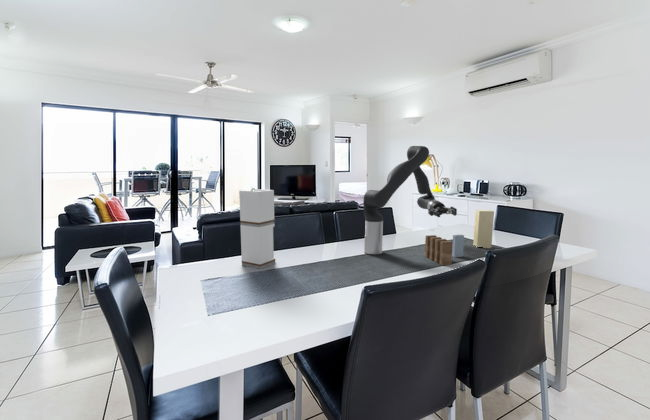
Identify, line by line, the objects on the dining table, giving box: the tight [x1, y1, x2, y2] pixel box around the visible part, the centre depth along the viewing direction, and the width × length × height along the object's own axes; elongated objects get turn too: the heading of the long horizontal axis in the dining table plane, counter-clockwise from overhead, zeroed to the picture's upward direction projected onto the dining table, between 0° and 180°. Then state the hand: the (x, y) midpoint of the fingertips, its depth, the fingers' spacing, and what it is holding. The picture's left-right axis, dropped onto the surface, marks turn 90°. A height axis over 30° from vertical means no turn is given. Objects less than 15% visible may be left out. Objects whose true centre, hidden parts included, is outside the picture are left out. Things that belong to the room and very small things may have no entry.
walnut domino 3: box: [433, 238, 448, 264], centre depth 164 cm, size 2×5×11 cm, turn 103°
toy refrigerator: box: [472, 209, 495, 249], centre depth 193 cm, size 8×7×21 cm
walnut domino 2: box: [429, 236, 443, 261], centre depth 168 cm, size 2×5×11 cm, turn 104°
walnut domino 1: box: [424, 234, 438, 259], centre depth 173 cm, size 2×5×11 cm, turn 104°
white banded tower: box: [238, 188, 276, 270], centre depth 159 cm, size 11×11×35 cm
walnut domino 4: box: [439, 240, 453, 266], centre depth 160 cm, size 2×5×11 cm, turn 103°
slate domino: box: [452, 234, 465, 258], centre depth 174 cm, size 2×5×11 cm, turn 103°
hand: (447, 214), depth 179 cm, fingers open, 8 cm apart
